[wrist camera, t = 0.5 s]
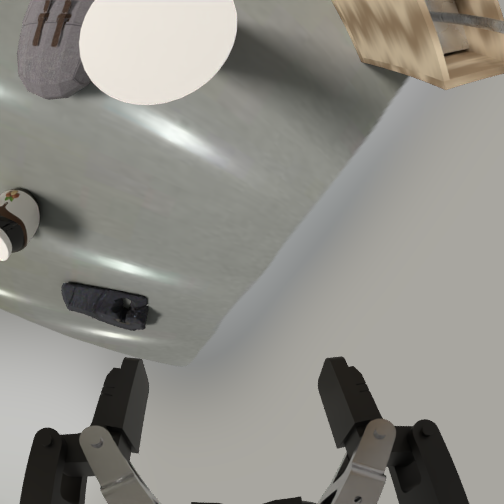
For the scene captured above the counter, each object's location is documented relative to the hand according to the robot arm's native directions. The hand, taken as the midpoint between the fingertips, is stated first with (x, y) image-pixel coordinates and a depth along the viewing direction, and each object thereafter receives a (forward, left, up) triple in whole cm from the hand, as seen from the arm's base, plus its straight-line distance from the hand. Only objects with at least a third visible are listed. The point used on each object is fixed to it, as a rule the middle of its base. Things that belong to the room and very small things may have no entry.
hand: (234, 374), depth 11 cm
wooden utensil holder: (-6, +27, -33) cm, 43 cm away
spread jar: (-11, -40, -33) cm, 53 cm away
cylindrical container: (-12, +4, -33) cm, 35 cm away
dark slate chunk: (+18, -46, -33) cm, 59 cm away
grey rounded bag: (-25, -8, -33) cm, 43 cm away
